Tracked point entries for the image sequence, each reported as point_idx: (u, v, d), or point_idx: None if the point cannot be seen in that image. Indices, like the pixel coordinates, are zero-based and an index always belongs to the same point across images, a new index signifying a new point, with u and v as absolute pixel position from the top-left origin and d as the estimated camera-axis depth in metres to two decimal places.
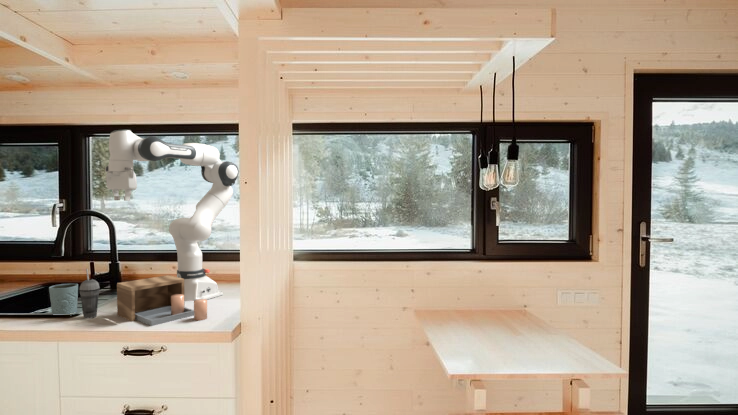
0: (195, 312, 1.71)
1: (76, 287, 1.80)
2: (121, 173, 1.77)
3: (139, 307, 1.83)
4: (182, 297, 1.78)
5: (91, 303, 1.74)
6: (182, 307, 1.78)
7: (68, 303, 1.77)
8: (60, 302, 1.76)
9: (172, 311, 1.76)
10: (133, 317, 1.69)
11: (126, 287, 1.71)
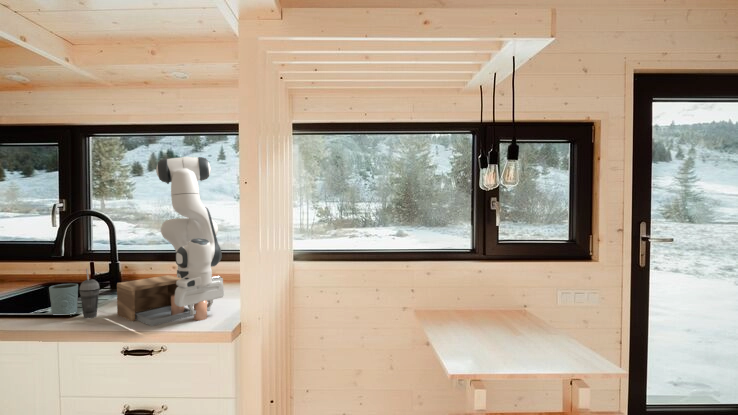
0: None
1: (76, 287, 1.80)
2: (212, 284, 1.75)
3: (139, 307, 1.83)
4: None
5: (91, 303, 1.74)
6: (182, 307, 1.78)
7: (68, 303, 1.77)
8: (60, 302, 1.76)
9: (172, 311, 1.76)
10: (133, 317, 1.69)
11: (126, 287, 1.71)
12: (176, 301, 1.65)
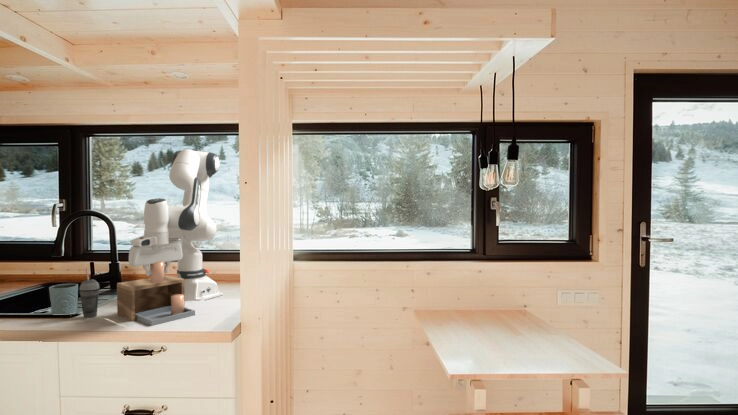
0: None
1: (76, 287, 1.80)
2: (169, 245, 1.72)
3: (139, 307, 1.83)
4: (182, 297, 1.78)
5: (91, 303, 1.74)
6: (182, 307, 1.78)
7: (68, 303, 1.77)
8: (60, 302, 1.76)
9: (172, 311, 1.76)
10: (133, 317, 1.69)
11: (126, 287, 1.71)
12: (130, 260, 1.62)
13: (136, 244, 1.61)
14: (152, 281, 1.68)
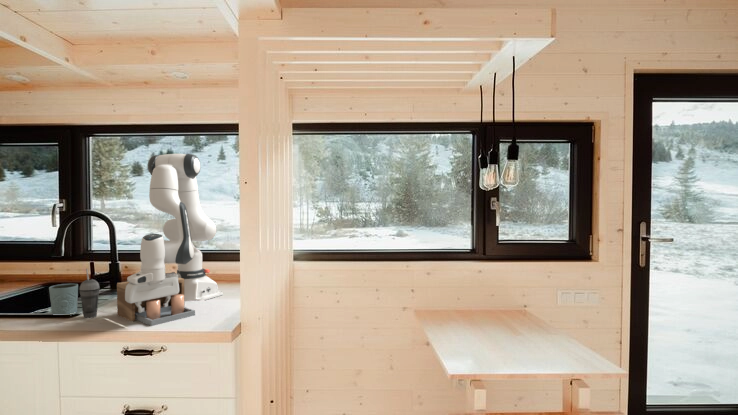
0: (147, 312, 1.68)
1: (76, 287, 1.80)
2: (165, 280, 1.72)
3: None
4: (182, 297, 1.78)
5: (91, 303, 1.74)
6: (182, 307, 1.78)
7: (68, 303, 1.77)
8: (60, 302, 1.76)
9: (172, 311, 1.76)
10: (133, 317, 1.69)
11: None
12: (126, 297, 1.62)
13: (132, 281, 1.62)
14: None
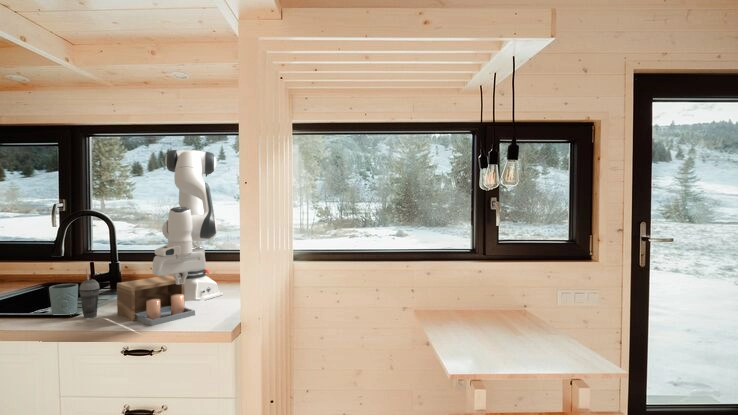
0: (147, 312, 1.68)
1: (76, 287, 1.80)
2: (192, 254, 1.69)
3: (139, 307, 1.83)
4: (182, 297, 1.78)
5: (91, 303, 1.74)
6: (182, 307, 1.78)
7: (68, 303, 1.77)
8: (60, 302, 1.76)
9: (172, 311, 1.76)
10: (133, 317, 1.69)
11: (126, 287, 1.71)
12: (154, 270, 1.59)
13: (160, 253, 1.58)
14: None
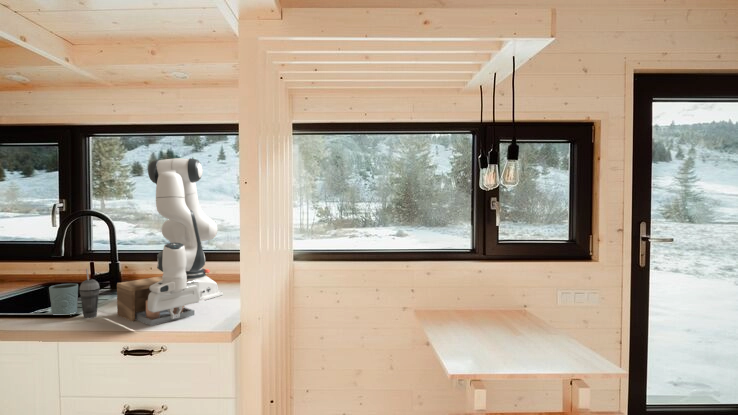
0: (147, 312, 1.69)
1: (76, 287, 1.80)
2: (187, 288, 1.72)
3: (139, 307, 1.83)
4: None
5: (91, 303, 1.74)
6: None
7: (68, 303, 1.77)
8: (60, 302, 1.76)
9: None
10: (133, 317, 1.69)
11: (126, 287, 1.71)
12: (149, 307, 1.62)
13: (155, 291, 1.62)
14: None
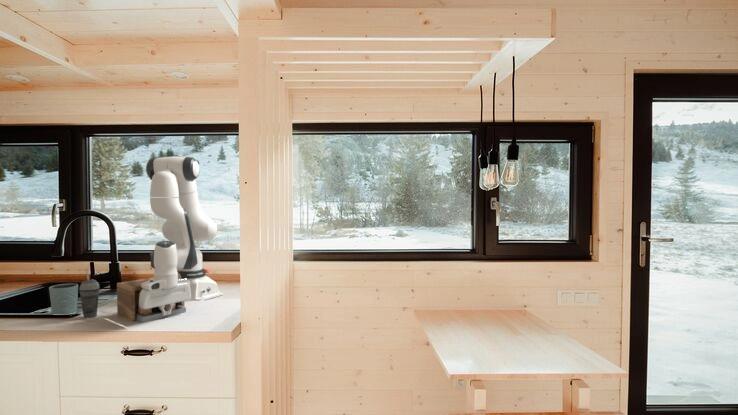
0: (139, 309, 1.73)
1: (76, 287, 1.80)
2: (178, 286, 1.76)
3: None
4: None
5: (91, 303, 1.74)
6: None
7: (68, 303, 1.77)
8: (60, 302, 1.76)
9: None
10: (133, 317, 1.69)
11: (126, 287, 1.71)
12: (140, 303, 1.66)
13: (146, 288, 1.66)
14: None
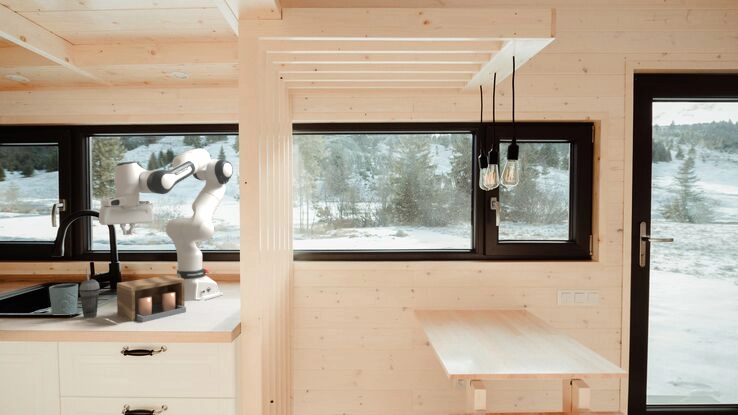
0: (139, 309, 1.73)
1: (76, 287, 1.80)
2: (139, 207, 1.77)
3: None
4: (173, 294, 1.82)
5: (91, 303, 1.74)
6: (173, 304, 1.82)
7: (68, 303, 1.77)
8: (60, 302, 1.76)
9: (163, 308, 1.81)
10: (133, 317, 1.69)
11: (126, 287, 1.71)
12: (100, 219, 1.68)
13: (106, 204, 1.67)
14: None
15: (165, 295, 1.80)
